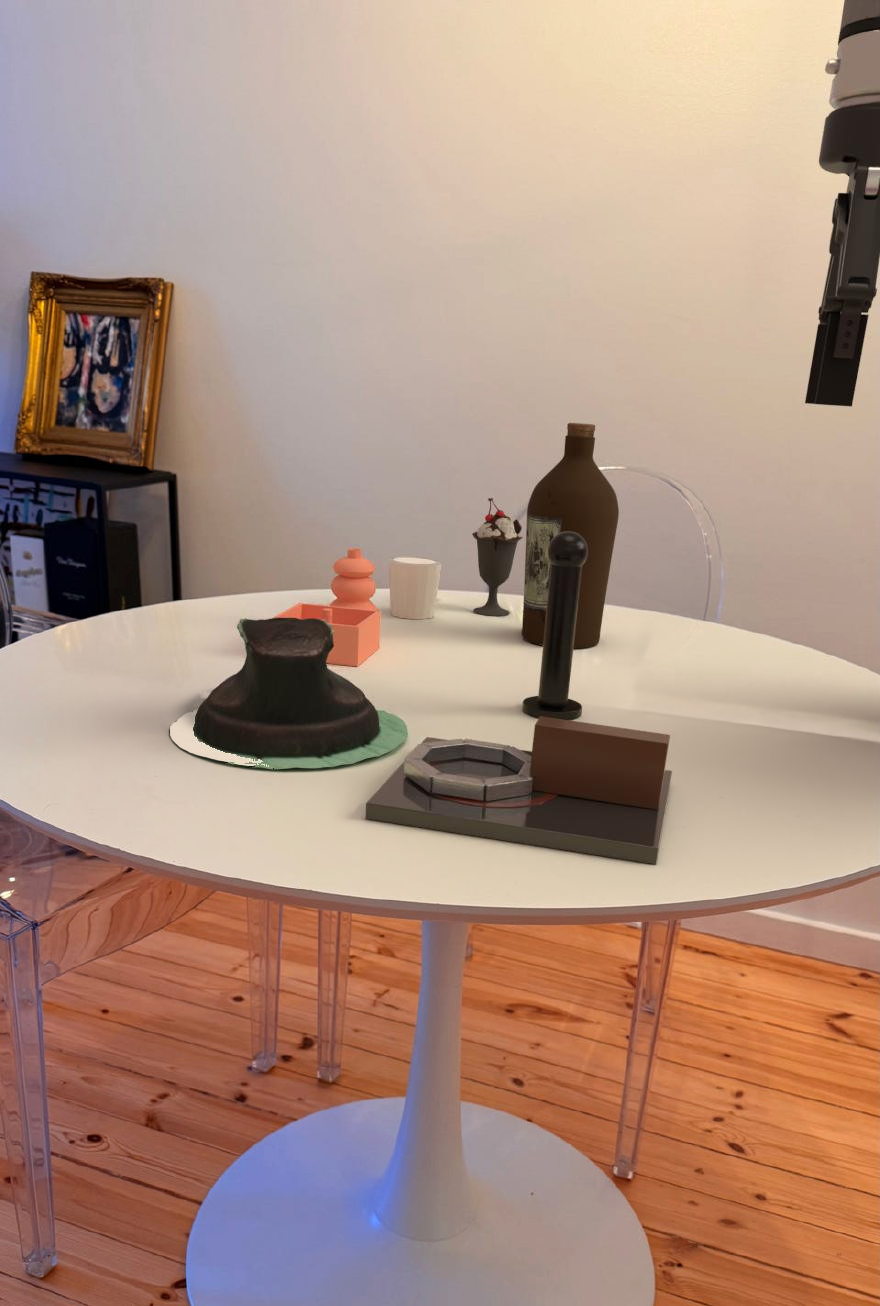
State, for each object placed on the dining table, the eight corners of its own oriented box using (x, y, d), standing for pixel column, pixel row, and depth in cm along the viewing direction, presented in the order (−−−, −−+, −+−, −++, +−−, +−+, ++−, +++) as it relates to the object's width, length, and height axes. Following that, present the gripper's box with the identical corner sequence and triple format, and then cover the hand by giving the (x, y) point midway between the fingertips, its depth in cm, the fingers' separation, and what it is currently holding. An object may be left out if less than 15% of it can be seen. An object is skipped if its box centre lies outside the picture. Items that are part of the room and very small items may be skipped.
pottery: (357, 666, 114) (360, 572, 110) (271, 656, 115) (272, 564, 112) (398, 631, 130) (401, 549, 127) (322, 623, 132) (324, 542, 129)
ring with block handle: (663, 783, 82) (673, 720, 80) (654, 829, 73) (665, 759, 72) (427, 747, 86) (431, 686, 84) (391, 786, 77) (395, 719, 76)
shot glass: (416, 622, 136) (419, 566, 134) (375, 613, 140) (377, 558, 137) (449, 615, 141) (452, 561, 139) (408, 606, 145) (411, 554, 143)
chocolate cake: (142, 693, 97) (350, 684, 106) (187, 858, 86) (414, 833, 95) (161, 558, 86) (390, 561, 95) (214, 727, 76) (466, 713, 85)
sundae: (463, 614, 142) (471, 497, 137) (470, 605, 149) (479, 492, 143) (512, 619, 141) (523, 501, 136) (518, 609, 148) (528, 496, 142)
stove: (670, 785, 85) (672, 769, 85) (656, 864, 71) (658, 846, 70) (425, 750, 90) (426, 735, 89) (365, 818, 75) (365, 801, 75)
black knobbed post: (584, 707, 104) (604, 530, 99) (577, 723, 99) (597, 537, 93) (527, 700, 106) (543, 524, 100) (517, 715, 101) (533, 531, 95)
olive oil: (572, 628, 138) (593, 422, 130) (621, 647, 130) (647, 428, 121) (500, 632, 134) (517, 418, 125) (546, 652, 125) (567, 424, 116)
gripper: (816, 144, 95) (775, 401, 102) (840, 64, 72) (785, 402, 79) (906, 145, 93) (858, 406, 101) (961, 64, 70) (893, 409, 78)
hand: (826, 405), depth 90 cm, fingers open, 13 cm apart
